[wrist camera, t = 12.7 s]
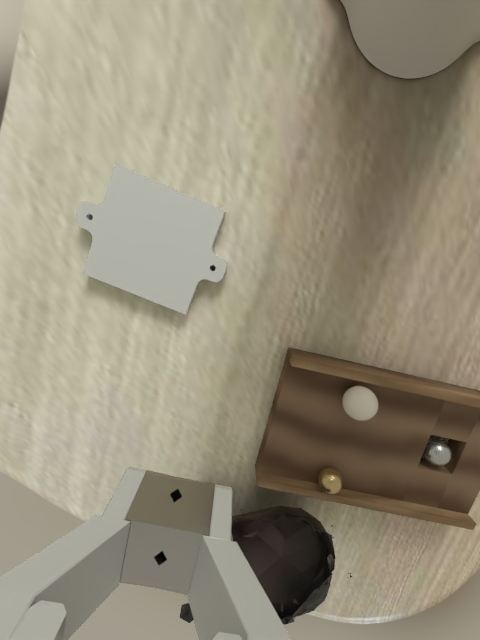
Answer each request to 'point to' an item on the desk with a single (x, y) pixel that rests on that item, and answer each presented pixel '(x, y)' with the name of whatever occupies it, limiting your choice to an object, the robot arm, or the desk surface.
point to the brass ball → (330, 480)
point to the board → (372, 440)
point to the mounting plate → (152, 240)
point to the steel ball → (437, 452)
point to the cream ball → (360, 403)
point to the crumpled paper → (285, 558)
